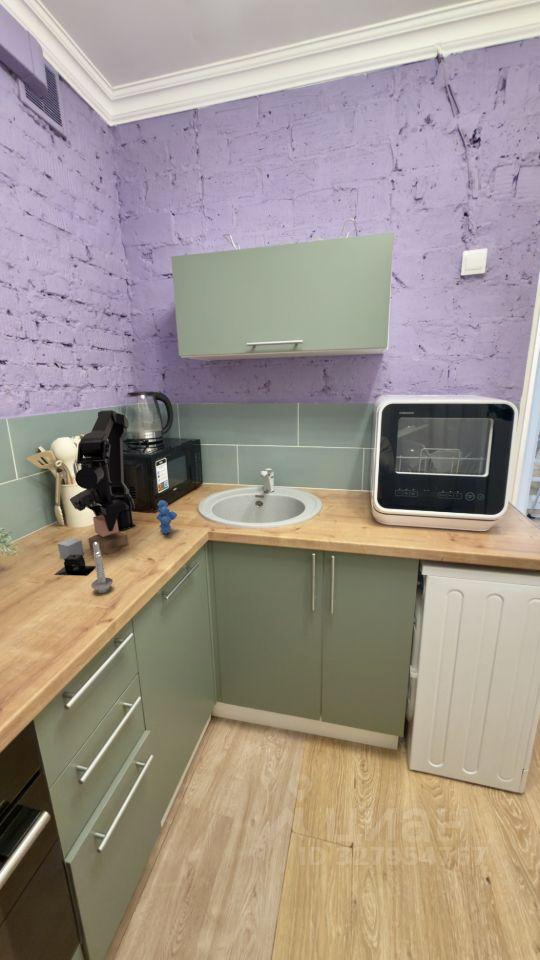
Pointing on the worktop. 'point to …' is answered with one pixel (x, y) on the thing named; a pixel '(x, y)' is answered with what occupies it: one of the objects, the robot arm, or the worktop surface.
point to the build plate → (75, 566)
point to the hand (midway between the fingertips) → (106, 528)
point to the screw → (100, 572)
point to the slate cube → (70, 547)
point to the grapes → (165, 516)
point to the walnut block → (109, 542)
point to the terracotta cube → (103, 526)
